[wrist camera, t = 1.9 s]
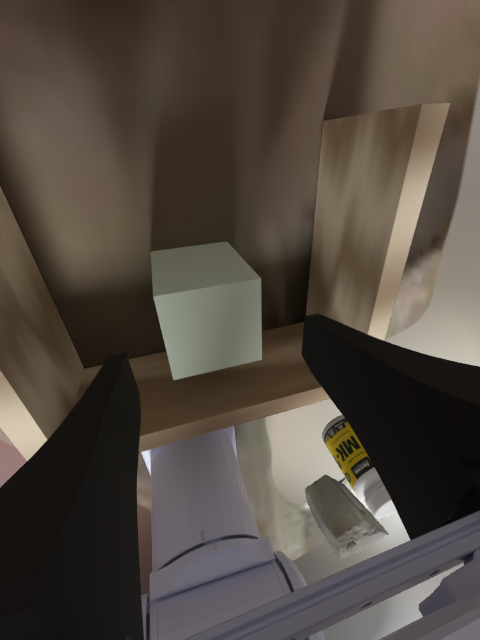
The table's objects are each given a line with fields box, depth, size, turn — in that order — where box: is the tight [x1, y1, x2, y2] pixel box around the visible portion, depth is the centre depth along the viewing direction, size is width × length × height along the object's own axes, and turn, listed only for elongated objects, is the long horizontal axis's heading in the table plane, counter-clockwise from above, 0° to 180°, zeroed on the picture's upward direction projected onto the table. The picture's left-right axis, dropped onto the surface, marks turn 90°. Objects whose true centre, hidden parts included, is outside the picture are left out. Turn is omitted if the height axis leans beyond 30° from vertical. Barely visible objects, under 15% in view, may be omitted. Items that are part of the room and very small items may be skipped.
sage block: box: [151, 241, 262, 380], centre depth 15 cm, size 4×4×6 cm
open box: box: [0, 103, 450, 461], centre depth 14 cm, size 14×18×6 cm
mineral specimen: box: [305, 475, 388, 559], centre depth 33 cm, size 7×9×8 cm
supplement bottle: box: [322, 415, 398, 519], centre depth 28 cm, size 5×5×8 cm
